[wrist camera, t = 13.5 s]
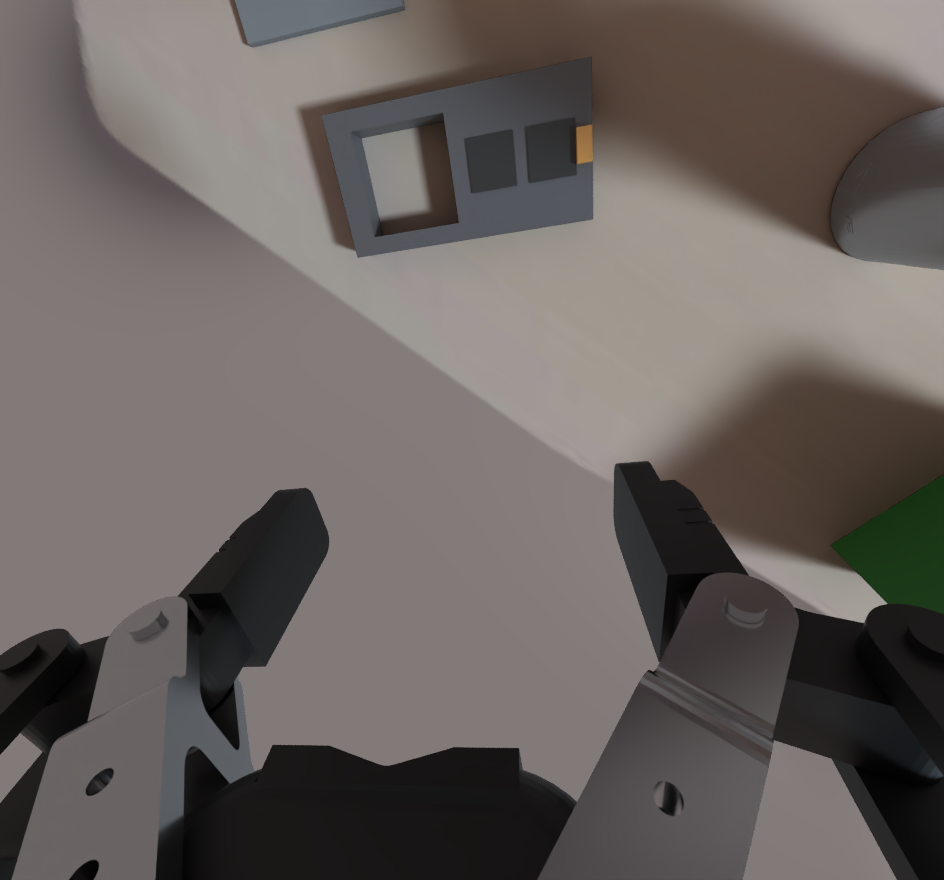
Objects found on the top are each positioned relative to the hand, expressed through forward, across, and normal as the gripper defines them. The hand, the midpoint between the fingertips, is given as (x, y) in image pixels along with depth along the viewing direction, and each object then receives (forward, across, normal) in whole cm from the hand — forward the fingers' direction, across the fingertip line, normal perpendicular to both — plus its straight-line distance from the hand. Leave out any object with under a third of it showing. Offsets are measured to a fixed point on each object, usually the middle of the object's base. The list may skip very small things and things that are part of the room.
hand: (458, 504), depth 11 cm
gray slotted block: (+28, +1, -10) cm, 30 cm away
